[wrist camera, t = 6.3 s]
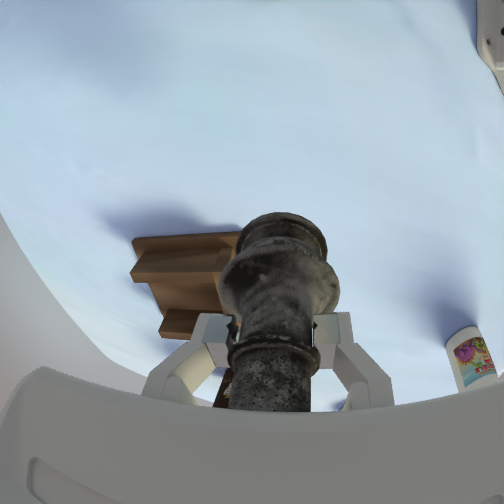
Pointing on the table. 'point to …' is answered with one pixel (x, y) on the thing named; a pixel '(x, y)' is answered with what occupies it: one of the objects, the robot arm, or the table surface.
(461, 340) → the milk bottle
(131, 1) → the table surface
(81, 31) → the table surface
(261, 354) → the grey chess piece
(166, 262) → the u-rest
